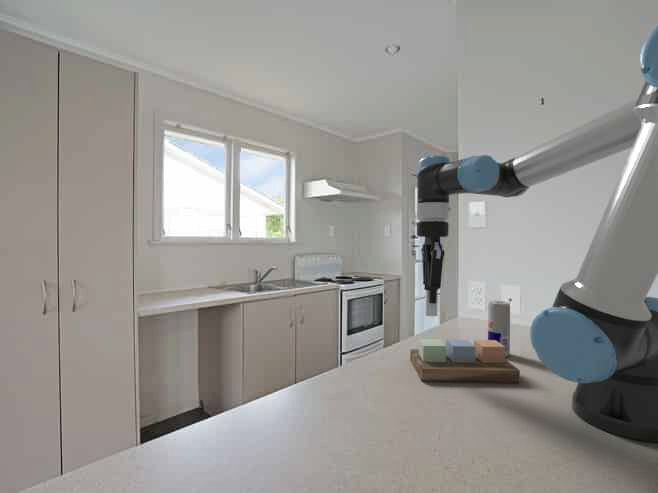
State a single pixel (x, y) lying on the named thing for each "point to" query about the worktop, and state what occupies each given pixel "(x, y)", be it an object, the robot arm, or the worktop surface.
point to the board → (464, 371)
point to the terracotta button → (489, 351)
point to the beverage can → (499, 323)
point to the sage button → (432, 350)
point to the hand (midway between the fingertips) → (431, 315)
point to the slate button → (460, 351)
